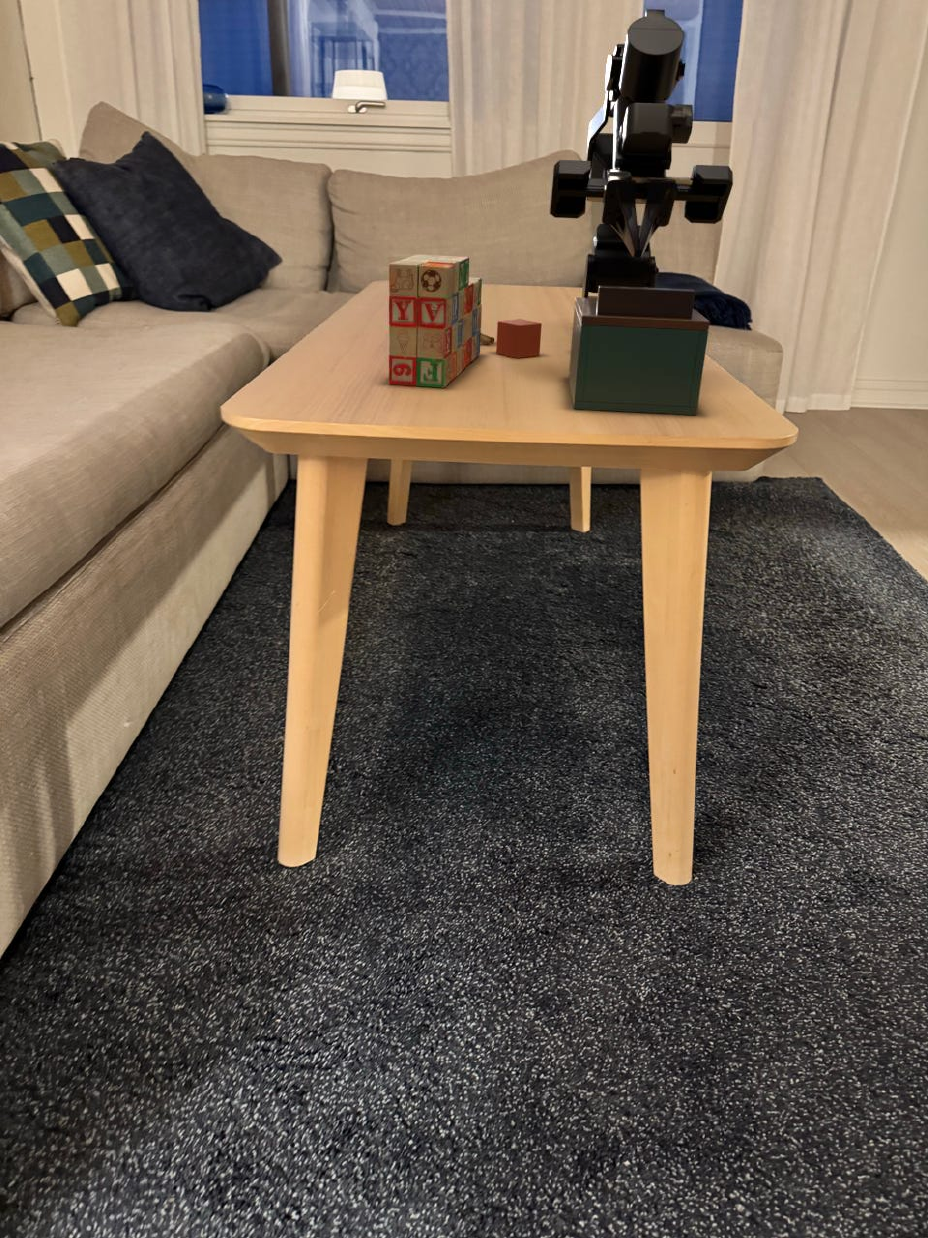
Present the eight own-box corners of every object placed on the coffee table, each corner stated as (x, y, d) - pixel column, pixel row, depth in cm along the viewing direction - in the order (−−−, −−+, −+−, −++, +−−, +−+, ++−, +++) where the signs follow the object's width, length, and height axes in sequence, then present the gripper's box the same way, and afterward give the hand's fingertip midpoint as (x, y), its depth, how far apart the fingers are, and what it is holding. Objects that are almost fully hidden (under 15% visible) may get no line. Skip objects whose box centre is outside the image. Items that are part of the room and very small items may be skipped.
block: (518, 350, 119) (519, 318, 117) (539, 355, 116) (542, 323, 115) (495, 353, 117) (497, 321, 115) (517, 358, 114) (519, 325, 112)
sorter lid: (574, 304, 100) (577, 272, 98) (684, 309, 99) (689, 277, 98) (581, 324, 86) (584, 287, 85) (708, 330, 86) (714, 293, 84)
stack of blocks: (432, 351, 116) (434, 248, 111) (480, 355, 115) (485, 250, 110) (388, 384, 97) (387, 261, 92) (445, 388, 96) (448, 264, 91)
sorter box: (568, 379, 103) (574, 305, 100) (674, 384, 103) (684, 310, 99) (573, 409, 90) (581, 324, 86) (696, 415, 89) (708, 330, 86)
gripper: (559, 70, 92) (553, 191, 87) (745, 76, 92) (749, 199, 86) (552, 159, 103) (546, 271, 98) (718, 165, 102) (721, 279, 97)
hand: (638, 254), depth 95 cm, fingers closed
